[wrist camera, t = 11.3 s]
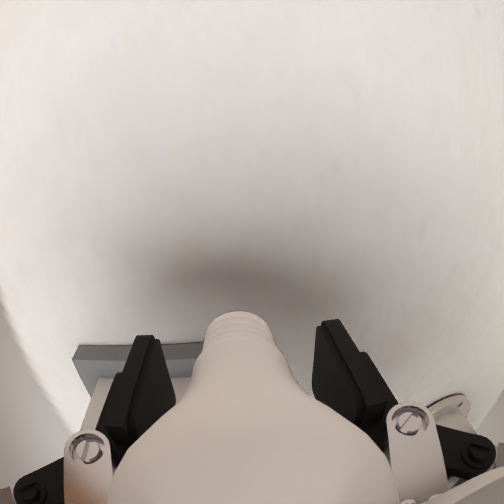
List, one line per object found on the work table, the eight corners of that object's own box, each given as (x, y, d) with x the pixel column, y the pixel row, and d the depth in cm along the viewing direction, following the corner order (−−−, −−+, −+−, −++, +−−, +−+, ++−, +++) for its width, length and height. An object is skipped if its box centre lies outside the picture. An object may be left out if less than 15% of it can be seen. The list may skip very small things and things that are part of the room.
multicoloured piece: (265, 488, 27) (274, 536, 20) (164, 492, 25) (163, 539, 19) (258, 337, 18) (278, 426, 11) (79, 345, 17) (42, 421, 10)
